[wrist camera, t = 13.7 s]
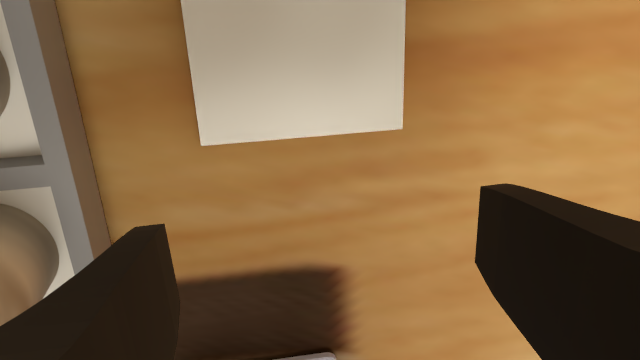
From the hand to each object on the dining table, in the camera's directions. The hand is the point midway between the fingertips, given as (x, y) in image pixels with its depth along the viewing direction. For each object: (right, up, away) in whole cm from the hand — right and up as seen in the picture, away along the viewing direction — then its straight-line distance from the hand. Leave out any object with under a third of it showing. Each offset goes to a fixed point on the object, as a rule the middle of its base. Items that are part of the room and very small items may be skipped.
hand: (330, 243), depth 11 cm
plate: (-1, +7, +7) cm, 10 cm away
